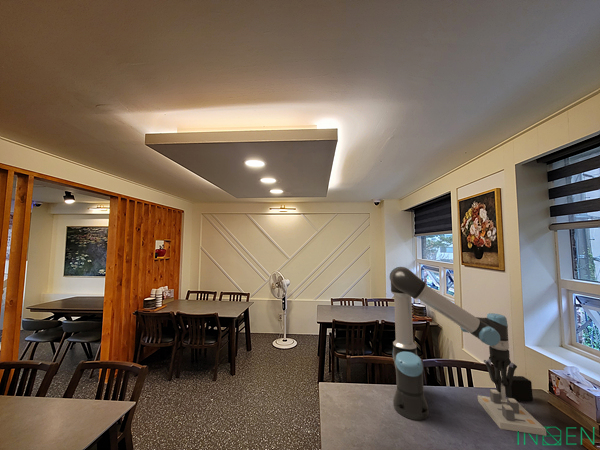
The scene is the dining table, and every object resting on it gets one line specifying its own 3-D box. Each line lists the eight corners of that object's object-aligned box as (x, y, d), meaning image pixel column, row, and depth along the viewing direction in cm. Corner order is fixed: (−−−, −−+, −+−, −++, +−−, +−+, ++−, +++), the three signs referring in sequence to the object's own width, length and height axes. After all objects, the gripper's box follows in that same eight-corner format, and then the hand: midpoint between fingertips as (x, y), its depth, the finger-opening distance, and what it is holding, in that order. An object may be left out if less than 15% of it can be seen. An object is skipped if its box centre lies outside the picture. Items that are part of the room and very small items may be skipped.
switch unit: (500, 428, 100) (499, 422, 100) (477, 400, 118) (477, 395, 119) (546, 435, 96) (545, 428, 97) (515, 405, 115) (515, 399, 115)
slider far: (493, 402, 113) (492, 392, 113) (490, 398, 116) (489, 388, 116) (501, 403, 112) (500, 393, 113) (497, 399, 115) (496, 389, 116)
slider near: (506, 419, 101) (505, 408, 102) (502, 415, 104) (501, 403, 105) (514, 421, 101) (514, 409, 101) (510, 416, 104) (509, 404, 104)
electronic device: (533, 402, 118) (531, 380, 119) (512, 401, 118) (511, 380, 119) (525, 396, 122) (523, 376, 123) (505, 396, 122) (504, 375, 123)
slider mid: (511, 412, 106) (510, 401, 107) (507, 408, 109) (506, 397, 110) (519, 413, 106) (518, 402, 106) (515, 409, 108) (514, 398, 109)
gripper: (487, 349, 114) (490, 402, 111) (519, 352, 111) (523, 406, 108) (479, 343, 121) (482, 392, 119) (509, 345, 118) (513, 396, 116)
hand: (502, 399), depth 113 cm, fingers closed
